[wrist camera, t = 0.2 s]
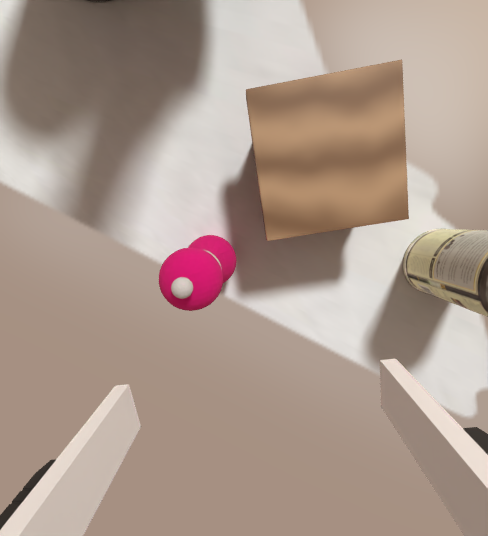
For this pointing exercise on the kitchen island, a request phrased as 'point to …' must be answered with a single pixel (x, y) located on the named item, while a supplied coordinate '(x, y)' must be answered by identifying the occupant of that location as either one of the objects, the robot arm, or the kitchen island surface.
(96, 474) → the robot arm
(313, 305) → the kitchen island surface
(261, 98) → the stool
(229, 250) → the pepper mill
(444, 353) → the kitchen island surface
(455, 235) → the coffee can
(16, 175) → the kitchen island surface
